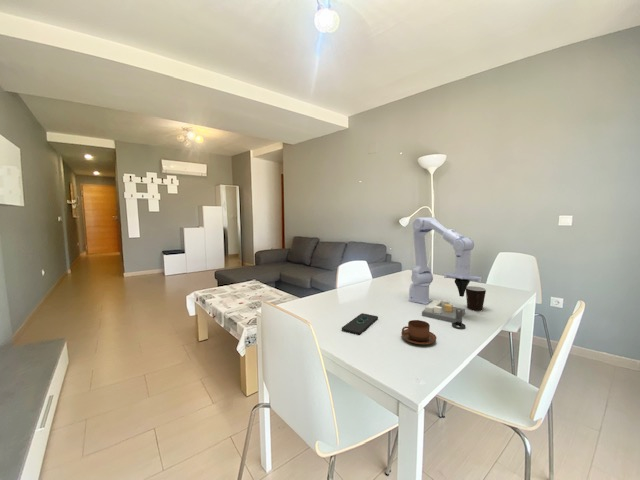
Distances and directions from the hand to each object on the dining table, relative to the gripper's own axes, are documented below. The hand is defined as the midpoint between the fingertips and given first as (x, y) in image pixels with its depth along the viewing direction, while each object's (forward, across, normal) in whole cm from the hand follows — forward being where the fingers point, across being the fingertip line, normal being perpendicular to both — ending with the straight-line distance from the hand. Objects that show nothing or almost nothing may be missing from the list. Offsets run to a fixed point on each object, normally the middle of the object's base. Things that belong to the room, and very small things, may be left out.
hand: (461, 296), depth 122 cm
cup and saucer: (+10, -6, -34) cm, 36 cm away
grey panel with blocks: (+10, -7, -1) cm, 12 cm away
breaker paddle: (+7, -5, -1) cm, 9 cm away
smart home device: (+10, -30, -35) cm, 47 cm away
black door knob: (+10, +2, -12) cm, 16 cm away
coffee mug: (+10, +2, +15) cm, 18 cm away
